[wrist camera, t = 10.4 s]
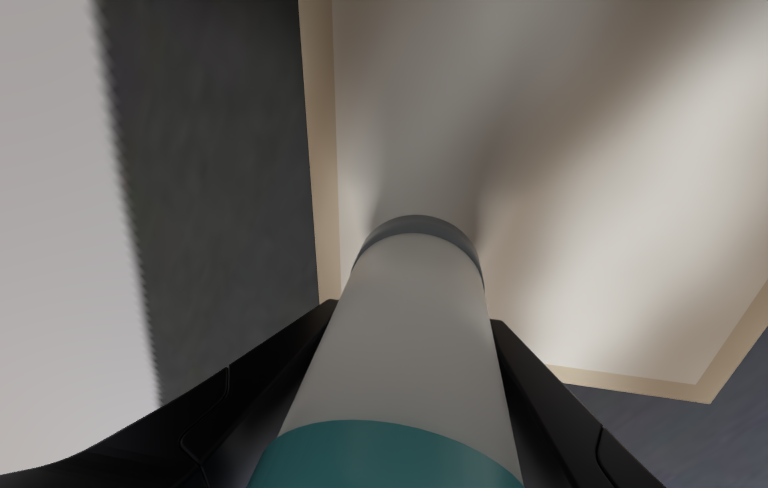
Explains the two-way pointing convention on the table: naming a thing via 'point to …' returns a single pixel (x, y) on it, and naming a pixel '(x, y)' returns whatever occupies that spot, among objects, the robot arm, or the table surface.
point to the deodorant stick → (401, 376)
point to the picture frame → (560, 168)
